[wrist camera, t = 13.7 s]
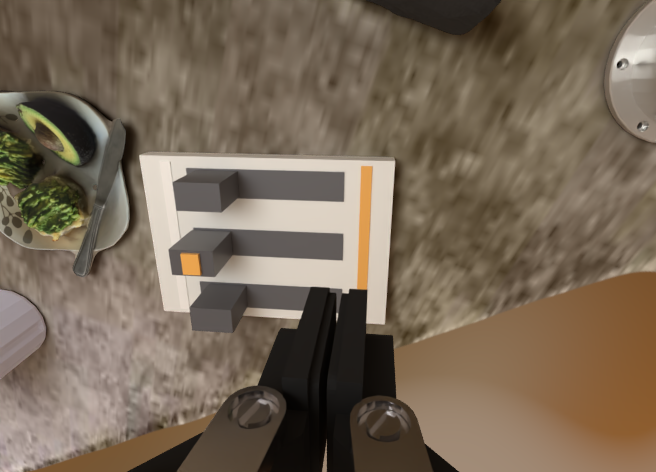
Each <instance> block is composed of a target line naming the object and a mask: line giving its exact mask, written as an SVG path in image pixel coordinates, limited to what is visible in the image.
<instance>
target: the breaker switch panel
mask: <svg viewBox="0 0 656 472" xmlns="http://www.w3.org/2000/svg"><path fill="white" fill-rule="evenodd" d="M139 157H140V164H141V170H142V176H143V182H144V188H145V195H146V201H147V207H148V213H149V219H150V226H151V232H152V238H153V244H154V250H155V257H156V263H157V269H158V275H159V281H160V287H161V294H162V300H163V306H164V311H176V312H190V316H191V323H192V330H195V331H210V332H225V333H233V332H234V330H235V328H236V327H237V325H238V323H239V321H240V319H241V318H242V316H257V317H273V318H289V319H301V316H302V313H303V310H304V306H305V303H306V300H307V297H308V294H309V291H310V288H311V287H328V288H330V292H331V293H336V295H337V309H336V321H337V318H338V312H339V307H340V301H341V295H342V293H349V289H365V290H368V293H367V319H366V323H370V324H385V314H386V298H387V282H388V266H389V250H390V234H391V219H392V203H393V187H394V171H395V159H394V157H365V156H321V155H277V154H233V153H188V152H147V153H144V154H141V155H139ZM191 230H206V231H230V232H231V239H232V250H233V255H232V257H231V258H230V259H229V260H228V262H227V263H226V264H225V265H224V267H223V268H222V269H221V270H220V272H219V273H218V274H217V275H216V277H201V276H182V275H172V271H171V264H170V258H169V251H168V249H169V248H171V247H172V246H173V245H174V244H175V243H177V242H178V241H179V240H180V239H181V238H183V237H184V236H185V235H186V234H187V233H189V232H190V231H191Z"/></svg>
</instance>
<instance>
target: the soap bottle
mask: <svg viewBox="0 0 656 472" xmlns="http://www.w3.org/2000/svg"><path fill="white" fill-rule="evenodd" d="M45 337H46V326H45V323H44V320H43V317H42V315H41V314H40V312H39V311H38V310H37V308H36V307H35V306H34V305H33V304H32V303H31V302H30V301H28V300H27V299H26V298H25V297H23V296H21V295H19V294H17V293H15V292H13V291H8V290H3V289H0V379H1V378H3V377H4V376H5V375H6V374H8V373H9V372H10V371H11V370H13V369H14V368H15V367H16V366H18V365H19V364H20V363H21V362H22V361H24V360H25V359H26V358H27V357H29V356H30V355H31V354H32V353H34V352H35V351H36V350H37V349H39V348H40V346H41V345H42V343H43V341H44V340H45Z"/></svg>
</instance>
